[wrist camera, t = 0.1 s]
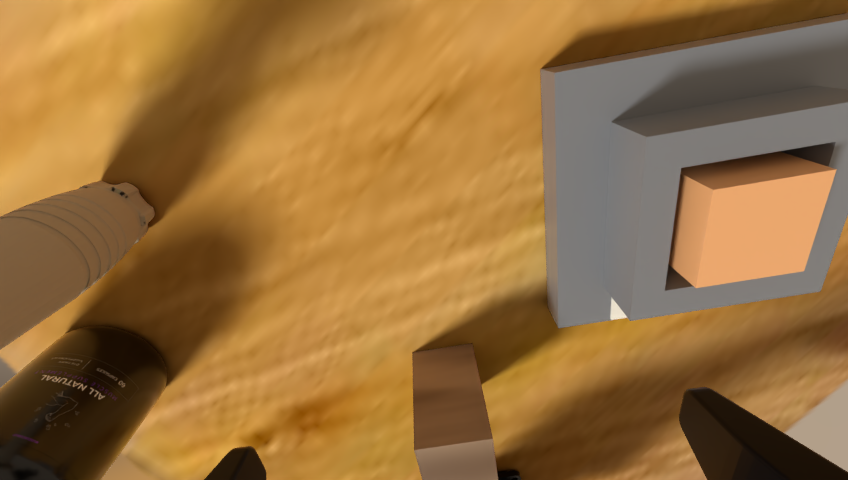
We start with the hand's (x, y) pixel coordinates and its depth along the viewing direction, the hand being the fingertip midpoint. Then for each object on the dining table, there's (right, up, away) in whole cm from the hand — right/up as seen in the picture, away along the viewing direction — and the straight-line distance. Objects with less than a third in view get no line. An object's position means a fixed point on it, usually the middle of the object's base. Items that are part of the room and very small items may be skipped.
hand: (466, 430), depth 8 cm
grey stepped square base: (+13, +7, +13) cm, 20 cm away
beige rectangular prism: (+1, -5, +19) cm, 20 cm away
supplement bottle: (-21, -4, +18) cm, 28 cm away
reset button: (+13, +6, +10) cm, 17 cm away
